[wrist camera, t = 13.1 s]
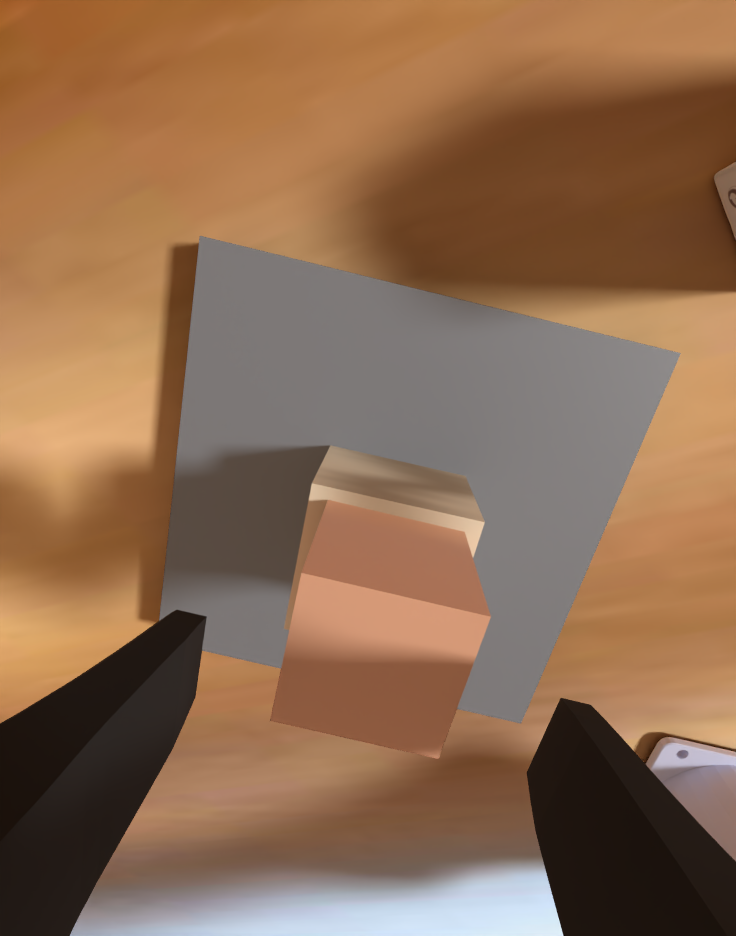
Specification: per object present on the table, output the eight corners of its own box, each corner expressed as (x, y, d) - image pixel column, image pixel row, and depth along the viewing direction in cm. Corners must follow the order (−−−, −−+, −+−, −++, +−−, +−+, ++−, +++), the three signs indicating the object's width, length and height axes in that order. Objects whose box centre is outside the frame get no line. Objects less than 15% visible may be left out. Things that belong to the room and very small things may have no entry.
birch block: (465, 476, 17) (484, 522, 14) (430, 592, 19) (438, 663, 15) (330, 445, 17) (312, 483, 13) (306, 564, 19) (283, 628, 15)
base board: (656, 349, 17) (680, 353, 16) (512, 696, 22) (521, 723, 21) (216, 242, 17) (199, 235, 15) (172, 618, 22) (156, 640, 20)
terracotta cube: (464, 531, 14) (490, 617, 10) (427, 644, 15) (438, 759, 11) (328, 499, 14) (301, 572, 10) (302, 616, 15) (269, 720, 11)
